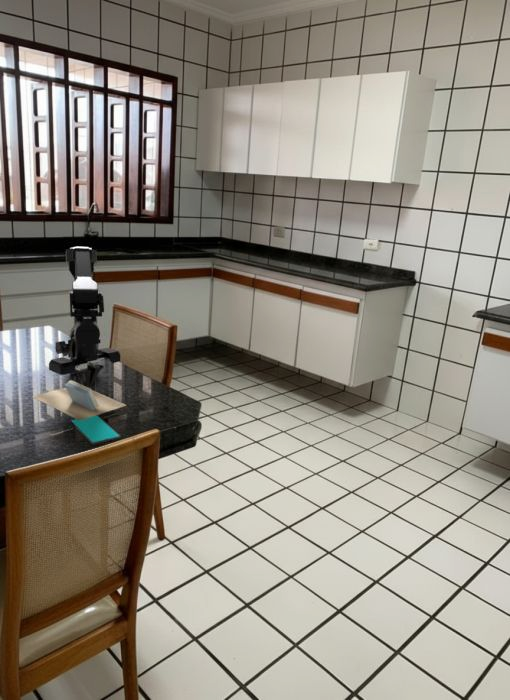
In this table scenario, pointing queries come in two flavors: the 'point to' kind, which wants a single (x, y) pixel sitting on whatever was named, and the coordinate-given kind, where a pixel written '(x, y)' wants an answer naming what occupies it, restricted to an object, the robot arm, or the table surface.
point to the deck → (81, 395)
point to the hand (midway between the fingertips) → (86, 391)
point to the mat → (64, 404)
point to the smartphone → (95, 430)
